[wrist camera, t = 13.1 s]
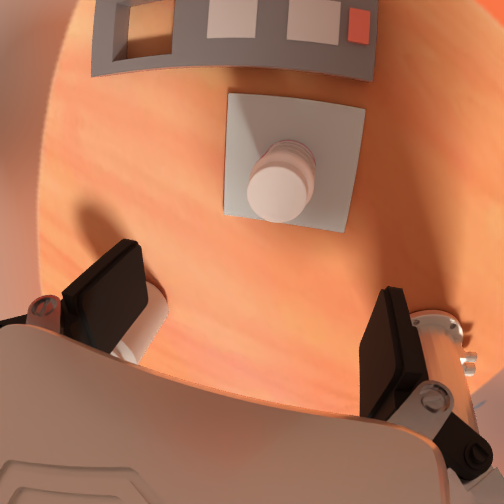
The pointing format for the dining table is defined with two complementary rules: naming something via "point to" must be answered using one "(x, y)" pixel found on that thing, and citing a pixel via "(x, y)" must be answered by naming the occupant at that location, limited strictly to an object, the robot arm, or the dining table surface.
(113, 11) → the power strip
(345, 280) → the dining table surface
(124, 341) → the can
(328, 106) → the mat
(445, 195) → the dining table surface
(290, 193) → the pill bottle
